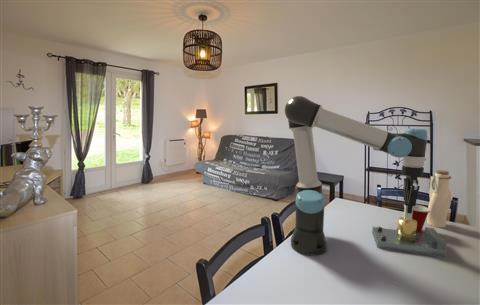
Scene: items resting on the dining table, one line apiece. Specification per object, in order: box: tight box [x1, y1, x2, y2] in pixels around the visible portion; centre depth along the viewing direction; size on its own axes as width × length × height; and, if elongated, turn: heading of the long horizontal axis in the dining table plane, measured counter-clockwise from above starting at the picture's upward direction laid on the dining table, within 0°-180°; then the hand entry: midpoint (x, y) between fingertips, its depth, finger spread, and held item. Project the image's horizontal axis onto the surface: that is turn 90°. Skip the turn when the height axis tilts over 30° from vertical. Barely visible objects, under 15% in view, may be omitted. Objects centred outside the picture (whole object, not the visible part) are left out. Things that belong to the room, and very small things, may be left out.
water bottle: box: [426, 169, 452, 228], centre depth 128 cm, size 10×9×28 cm
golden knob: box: [396, 216, 417, 242], centre depth 110 cm, size 7×7×10 cm
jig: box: [371, 226, 447, 258], centre depth 111 cm, size 24×14×6 cm, turn 71°
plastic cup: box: [403, 204, 430, 233], centre depth 124 cm, size 11×11×12 cm
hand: (407, 219), depth 110 cm, fingers closed
